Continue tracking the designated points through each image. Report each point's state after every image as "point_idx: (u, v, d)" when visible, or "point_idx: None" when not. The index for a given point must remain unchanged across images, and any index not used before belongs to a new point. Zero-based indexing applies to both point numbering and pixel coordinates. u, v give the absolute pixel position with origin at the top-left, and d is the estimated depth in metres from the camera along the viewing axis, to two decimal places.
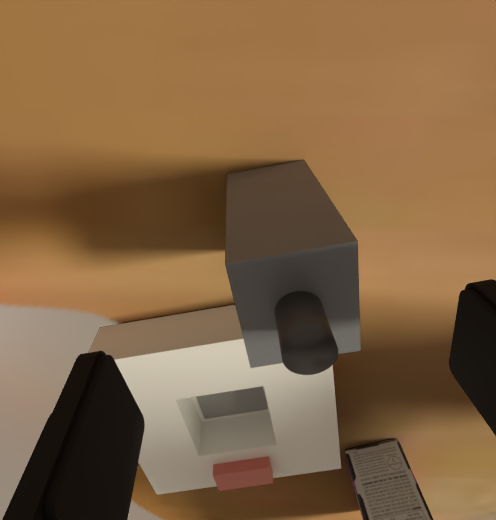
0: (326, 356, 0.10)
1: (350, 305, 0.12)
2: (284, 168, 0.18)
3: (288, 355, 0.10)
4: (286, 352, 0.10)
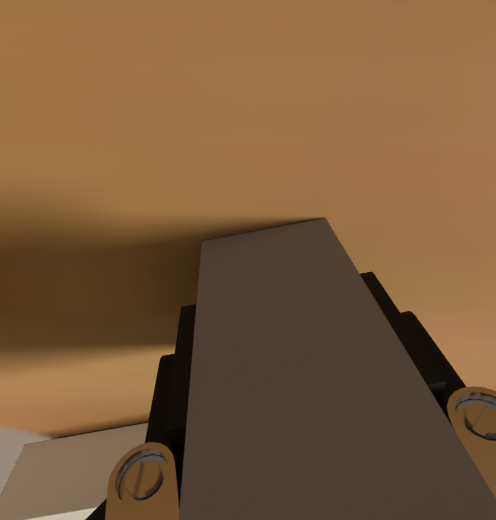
0: None
1: None
2: (294, 235, 0.11)
3: None
4: None
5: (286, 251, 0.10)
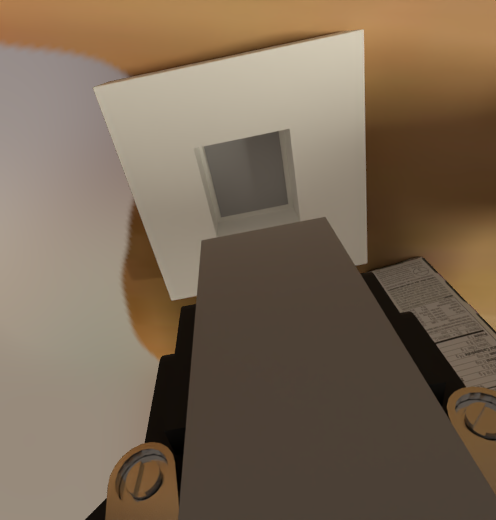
0: None
1: None
2: (294, 234, 0.11)
3: None
4: None
5: (286, 250, 0.10)
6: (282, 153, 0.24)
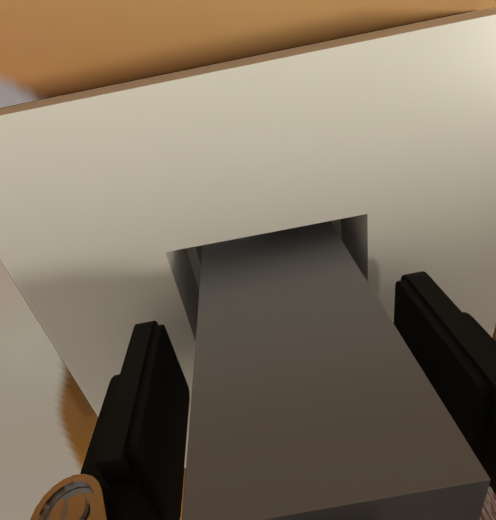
0: None
1: None
2: None
3: None
4: None
5: (283, 236, 0.11)
6: None
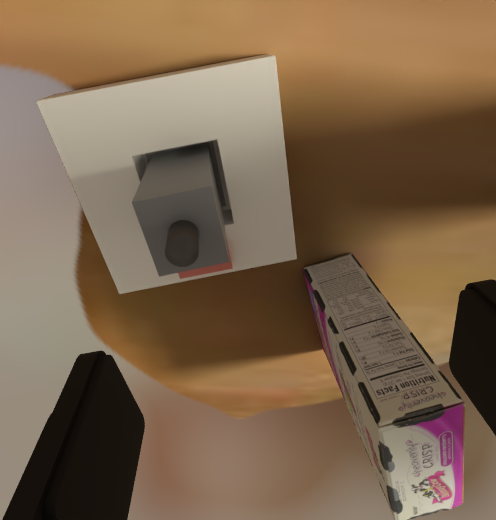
0: (191, 253, 0.18)
1: (215, 229, 0.19)
2: (192, 148, 0.25)
3: (168, 252, 0.17)
4: (167, 251, 0.17)
5: (186, 153, 0.24)
6: (217, 160, 0.26)
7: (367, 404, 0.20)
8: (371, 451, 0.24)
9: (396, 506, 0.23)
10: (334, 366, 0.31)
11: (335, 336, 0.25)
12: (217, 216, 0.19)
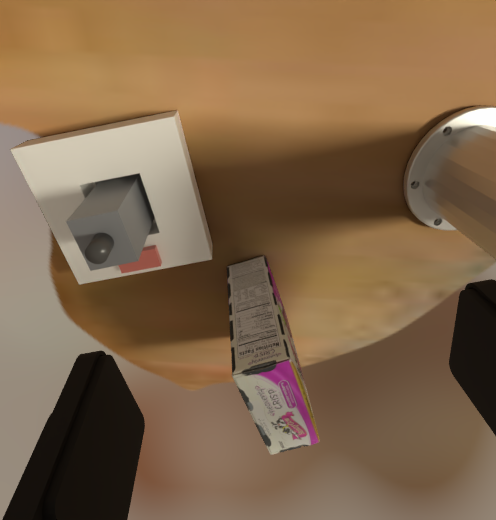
0: (102, 255, 0.27)
1: (125, 238, 0.28)
2: (126, 178, 0.34)
3: (87, 254, 0.27)
4: (86, 253, 0.27)
5: (120, 181, 0.34)
6: None
7: (232, 361, 0.29)
8: None
9: (265, 439, 0.32)
10: None
11: (229, 317, 0.34)
12: (125, 230, 0.28)
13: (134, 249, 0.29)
